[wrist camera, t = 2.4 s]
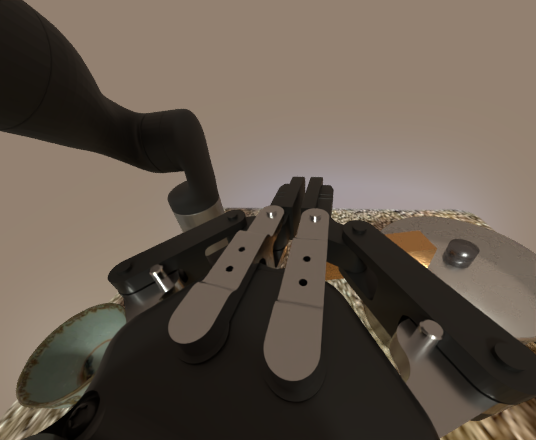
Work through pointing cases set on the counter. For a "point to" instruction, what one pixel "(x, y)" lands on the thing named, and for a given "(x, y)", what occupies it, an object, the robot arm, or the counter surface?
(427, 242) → the lid
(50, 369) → the bowl
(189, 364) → the robot arm
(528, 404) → the counter surface
